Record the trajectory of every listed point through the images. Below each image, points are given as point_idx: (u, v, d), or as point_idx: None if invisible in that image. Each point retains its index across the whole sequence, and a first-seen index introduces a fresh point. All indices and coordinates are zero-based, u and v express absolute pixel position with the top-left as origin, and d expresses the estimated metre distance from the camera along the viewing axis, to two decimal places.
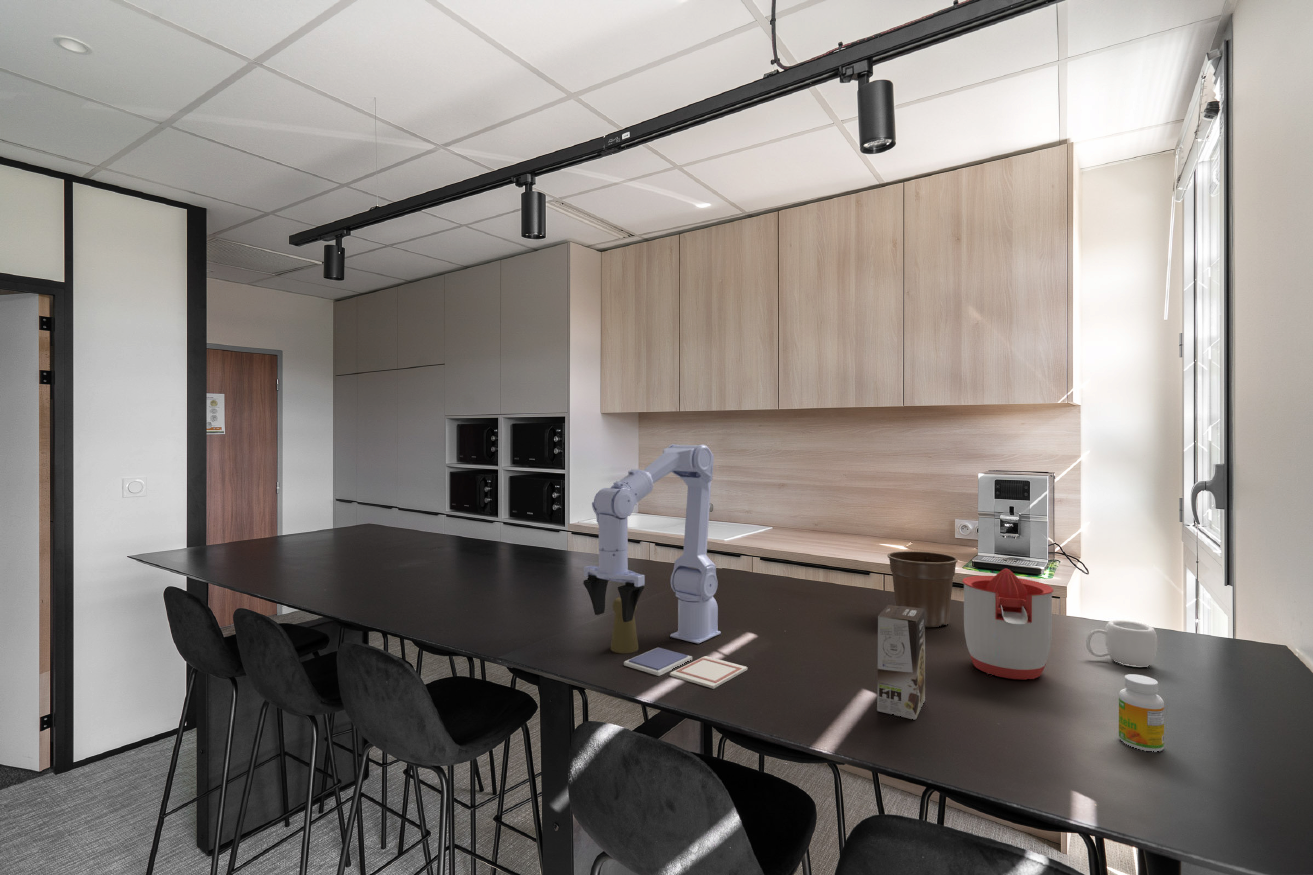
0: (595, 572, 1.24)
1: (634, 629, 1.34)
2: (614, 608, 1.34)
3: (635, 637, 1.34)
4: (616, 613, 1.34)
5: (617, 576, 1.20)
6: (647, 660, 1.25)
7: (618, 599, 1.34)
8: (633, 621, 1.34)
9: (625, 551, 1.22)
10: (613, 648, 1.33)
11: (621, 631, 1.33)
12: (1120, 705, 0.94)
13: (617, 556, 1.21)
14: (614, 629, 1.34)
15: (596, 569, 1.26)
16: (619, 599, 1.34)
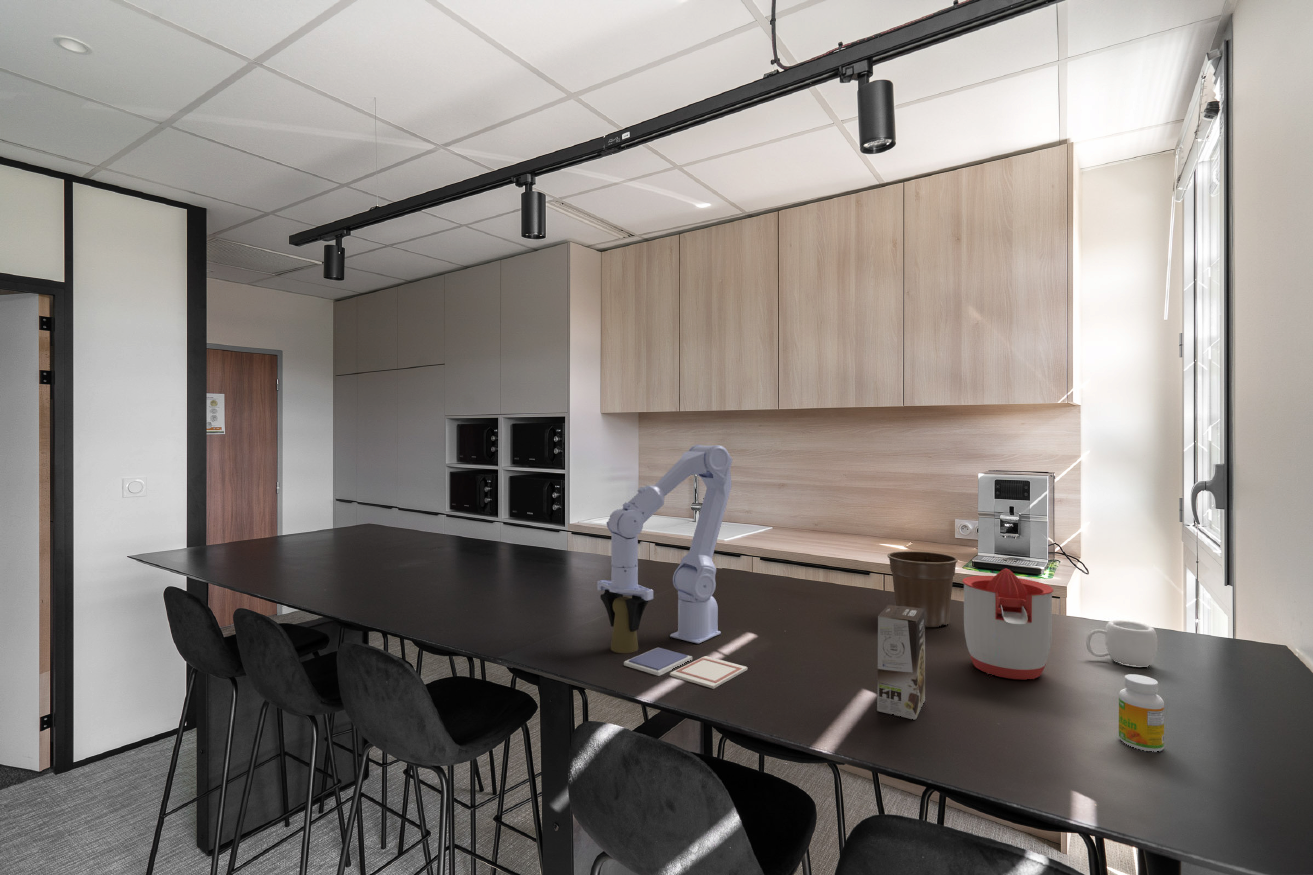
0: (608, 586, 1.35)
1: None
2: (614, 607, 1.34)
3: (635, 637, 1.34)
4: (616, 613, 1.34)
5: (628, 590, 1.32)
6: (647, 660, 1.25)
7: (618, 599, 1.34)
8: None
9: (635, 567, 1.34)
10: (613, 648, 1.33)
11: (621, 631, 1.33)
12: (1120, 705, 0.94)
13: (628, 572, 1.32)
14: (614, 629, 1.34)
15: (608, 583, 1.38)
16: (619, 599, 1.34)
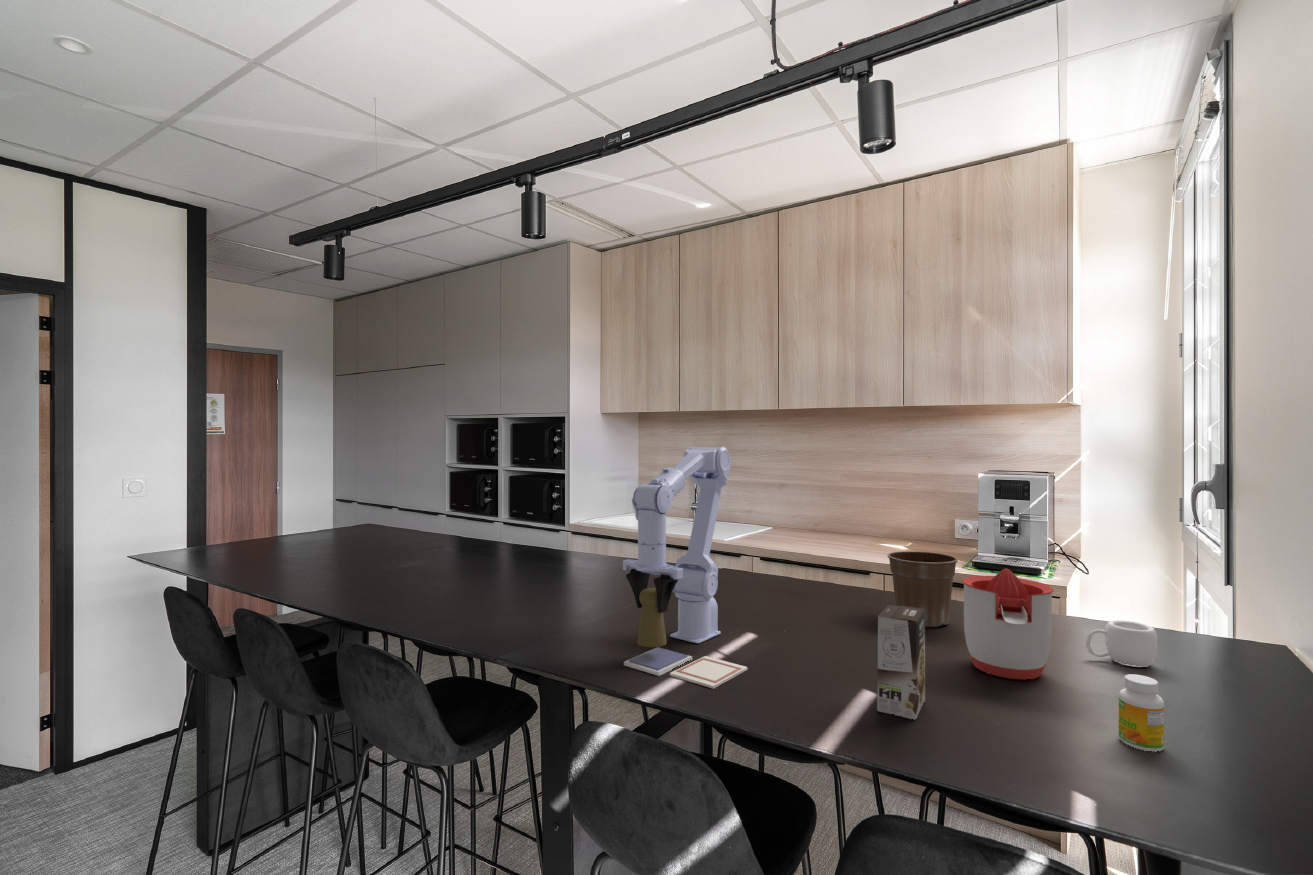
0: (634, 565, 1.28)
1: (662, 622, 1.27)
2: (641, 599, 1.27)
3: (663, 630, 1.27)
4: (643, 605, 1.27)
5: (656, 569, 1.25)
6: (647, 660, 1.25)
7: (645, 590, 1.28)
8: (661, 613, 1.27)
9: (664, 545, 1.27)
10: (640, 642, 1.26)
11: (649, 623, 1.26)
12: (1120, 705, 0.94)
13: (656, 550, 1.26)
14: (641, 622, 1.27)
15: (635, 563, 1.31)
16: (646, 590, 1.27)
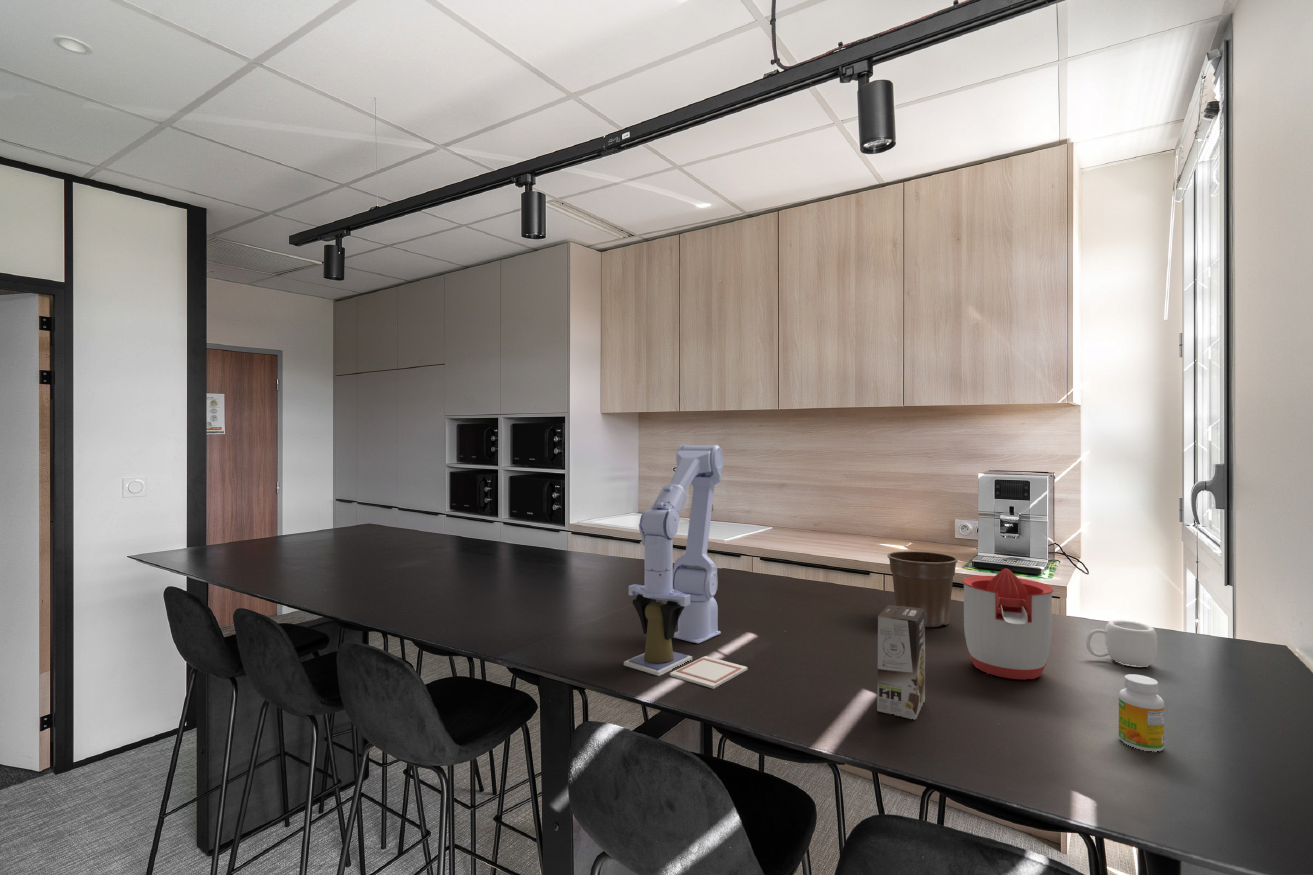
0: (641, 591, 1.27)
1: None
2: (647, 614, 1.25)
3: (670, 645, 1.25)
4: (649, 620, 1.25)
5: (663, 596, 1.23)
6: None
7: (651, 605, 1.26)
8: None
9: (670, 571, 1.25)
10: (647, 658, 1.25)
11: (656, 639, 1.24)
12: (1120, 705, 0.94)
13: (663, 576, 1.24)
14: (647, 637, 1.25)
15: (641, 588, 1.29)
16: (652, 605, 1.26)
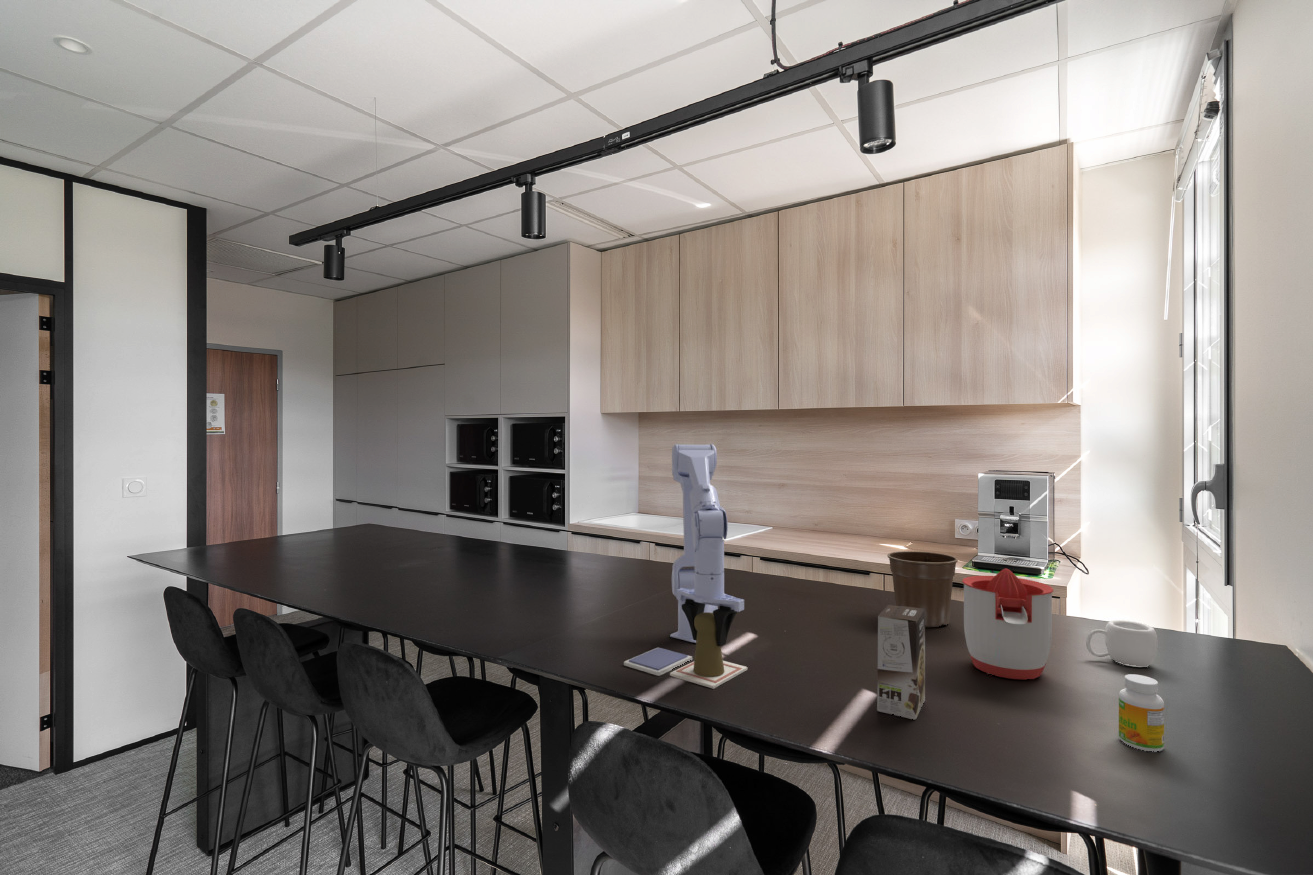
0: (691, 596, 1.21)
1: (720, 649, 1.20)
2: (697, 625, 1.19)
3: (721, 657, 1.20)
4: (699, 631, 1.19)
5: (716, 600, 1.18)
6: (647, 660, 1.25)
7: (701, 615, 1.20)
8: None
9: (722, 574, 1.20)
10: (697, 671, 1.19)
11: (706, 651, 1.18)
12: (1120, 705, 0.94)
13: (715, 580, 1.19)
14: (697, 649, 1.20)
15: (690, 592, 1.24)
16: (702, 615, 1.20)
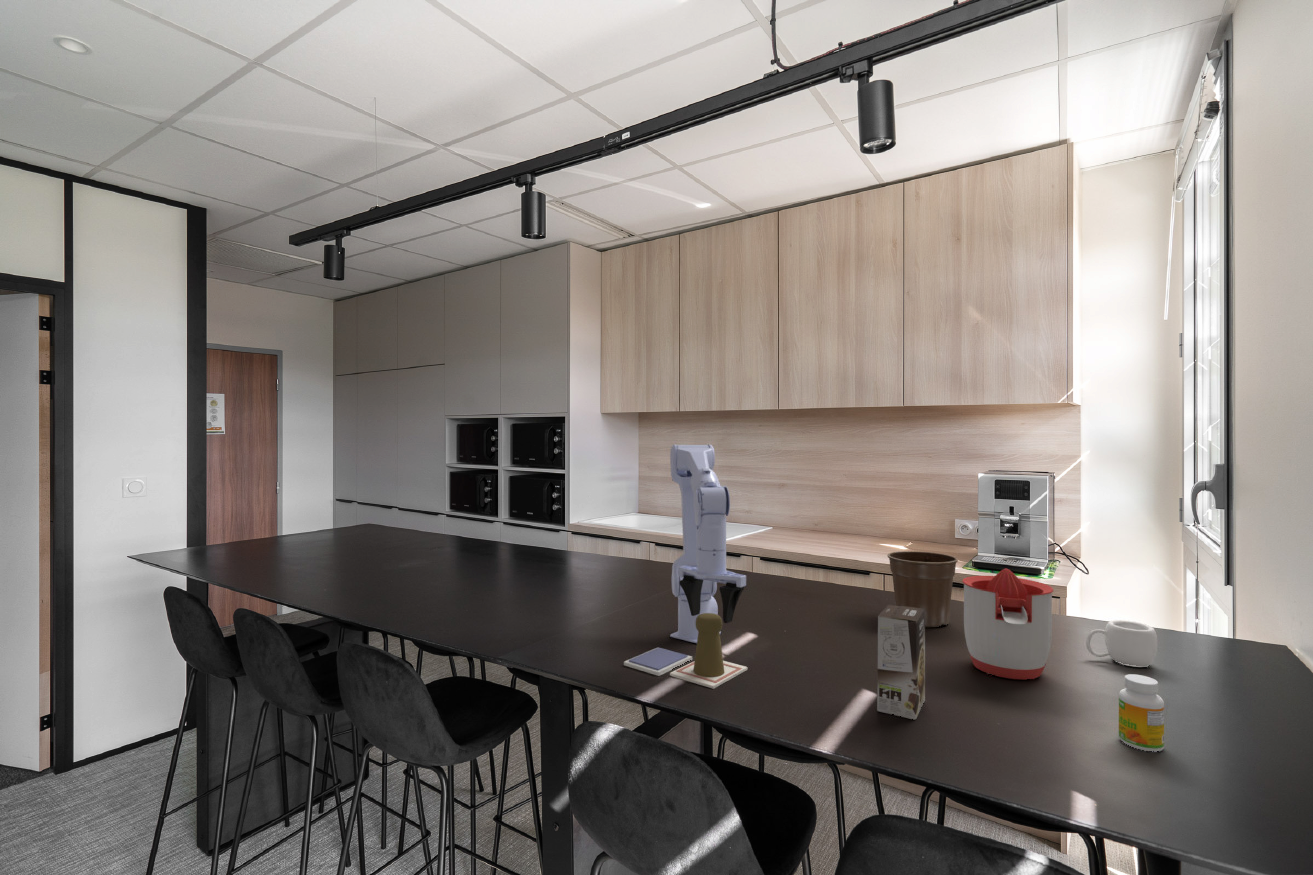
0: (693, 572, 1.22)
1: (720, 650, 1.20)
2: (698, 626, 1.19)
3: (721, 658, 1.19)
4: (700, 632, 1.19)
5: (718, 576, 1.18)
6: (647, 660, 1.25)
7: (702, 616, 1.20)
8: (719, 641, 1.20)
9: (724, 551, 1.21)
10: (697, 671, 1.19)
11: (707, 652, 1.18)
12: (1120, 705, 0.94)
13: (717, 556, 1.19)
14: (698, 650, 1.20)
15: (692, 569, 1.24)
16: (703, 616, 1.20)
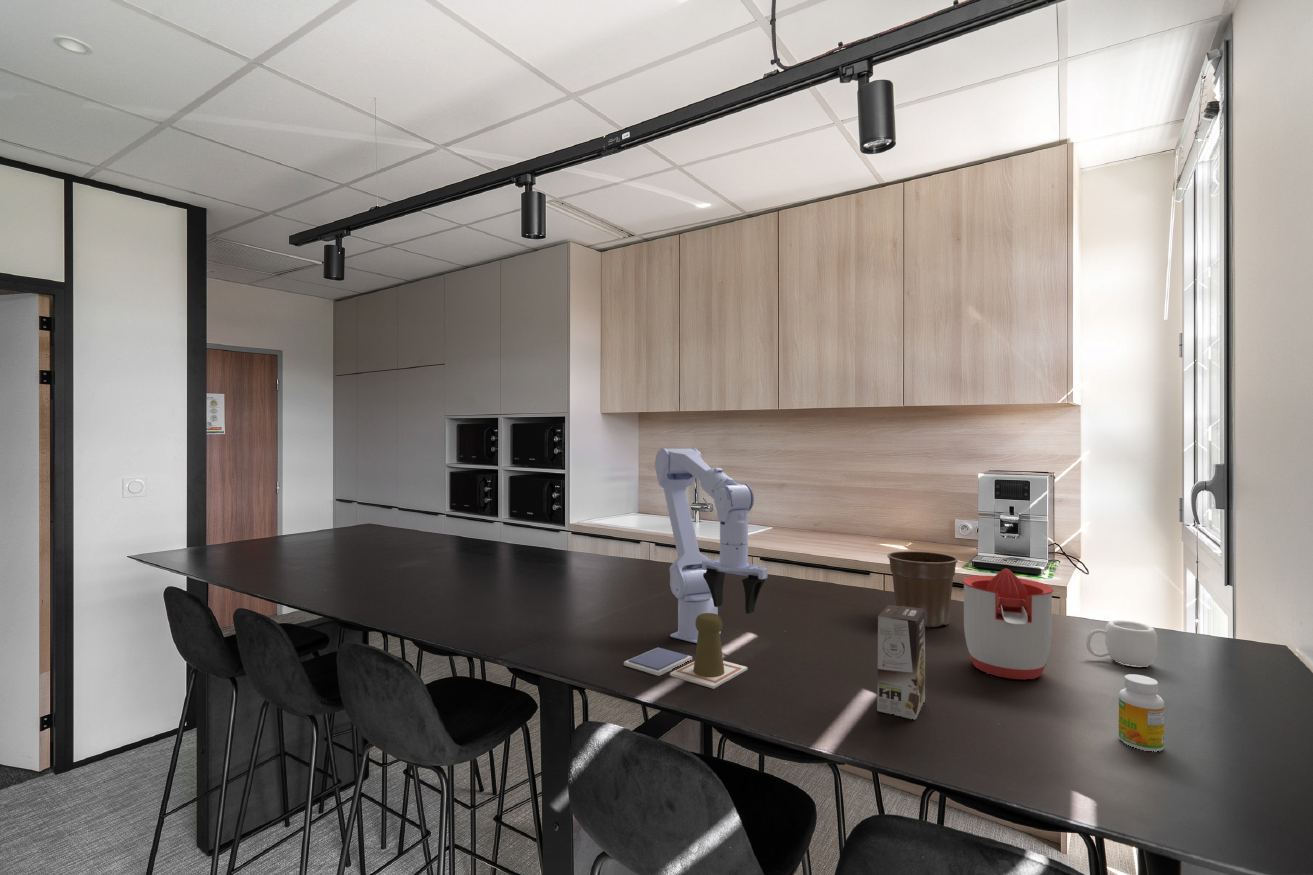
0: (716, 565, 1.28)
1: (720, 650, 1.20)
2: (698, 626, 1.19)
3: (721, 658, 1.19)
4: (700, 632, 1.19)
5: (741, 569, 1.25)
6: (647, 660, 1.25)
7: (702, 616, 1.20)
8: (719, 641, 1.20)
9: (746, 545, 1.27)
10: (697, 671, 1.19)
11: (707, 652, 1.18)
12: (1120, 705, 0.94)
13: (740, 550, 1.26)
14: (698, 650, 1.20)
15: (715, 563, 1.31)
16: (703, 616, 1.20)
